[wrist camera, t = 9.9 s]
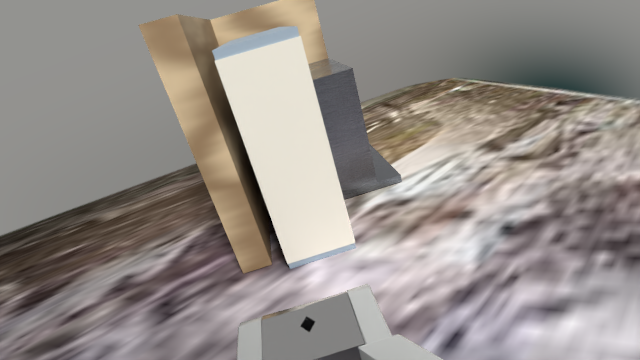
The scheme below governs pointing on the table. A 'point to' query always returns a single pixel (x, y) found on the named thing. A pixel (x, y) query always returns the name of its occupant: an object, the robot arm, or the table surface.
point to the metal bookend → (348, 131)
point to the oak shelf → (224, 109)
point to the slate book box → (286, 142)
